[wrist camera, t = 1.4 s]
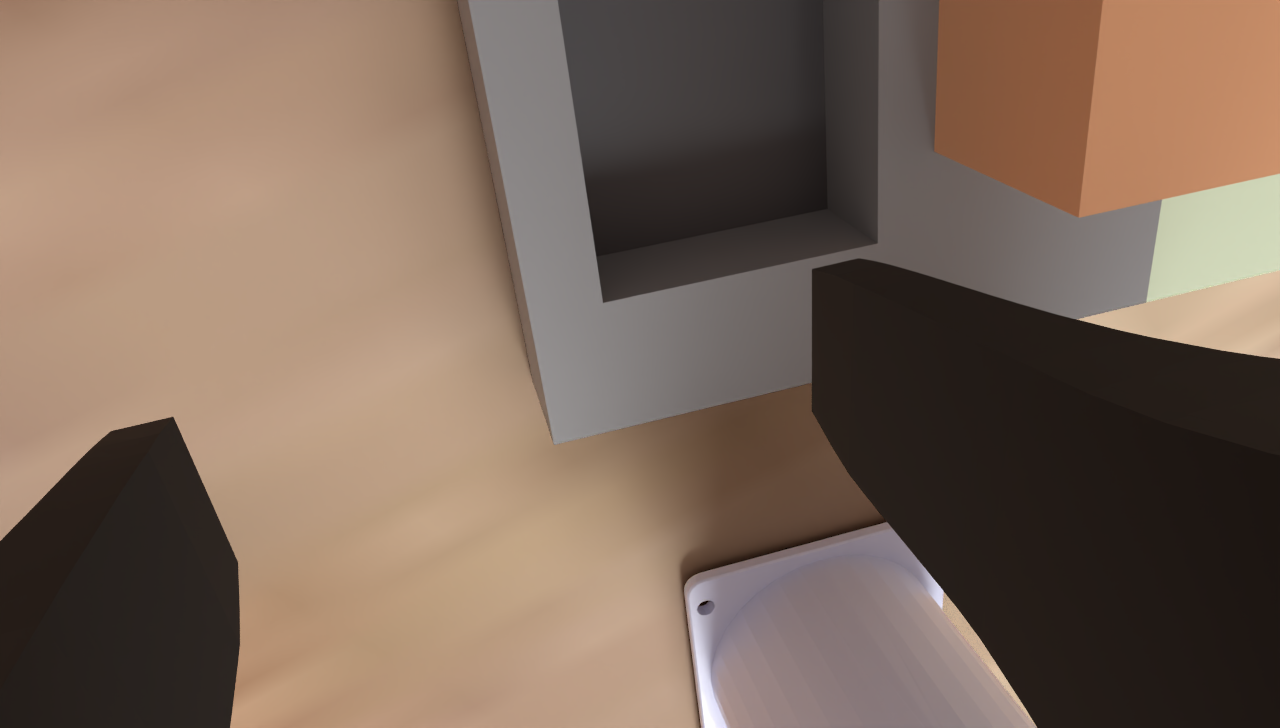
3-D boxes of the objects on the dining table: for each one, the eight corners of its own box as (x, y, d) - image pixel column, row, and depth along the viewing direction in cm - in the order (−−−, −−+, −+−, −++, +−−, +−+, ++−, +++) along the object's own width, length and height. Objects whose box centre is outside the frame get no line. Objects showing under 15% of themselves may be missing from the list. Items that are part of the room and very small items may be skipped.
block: (1126, 112, 20) (1310, 166, 16) (934, 151, 19) (1078, 218, 15) (1156, -124, 18) (1378, -129, 14) (941, -91, 17) (1112, -87, 13)
